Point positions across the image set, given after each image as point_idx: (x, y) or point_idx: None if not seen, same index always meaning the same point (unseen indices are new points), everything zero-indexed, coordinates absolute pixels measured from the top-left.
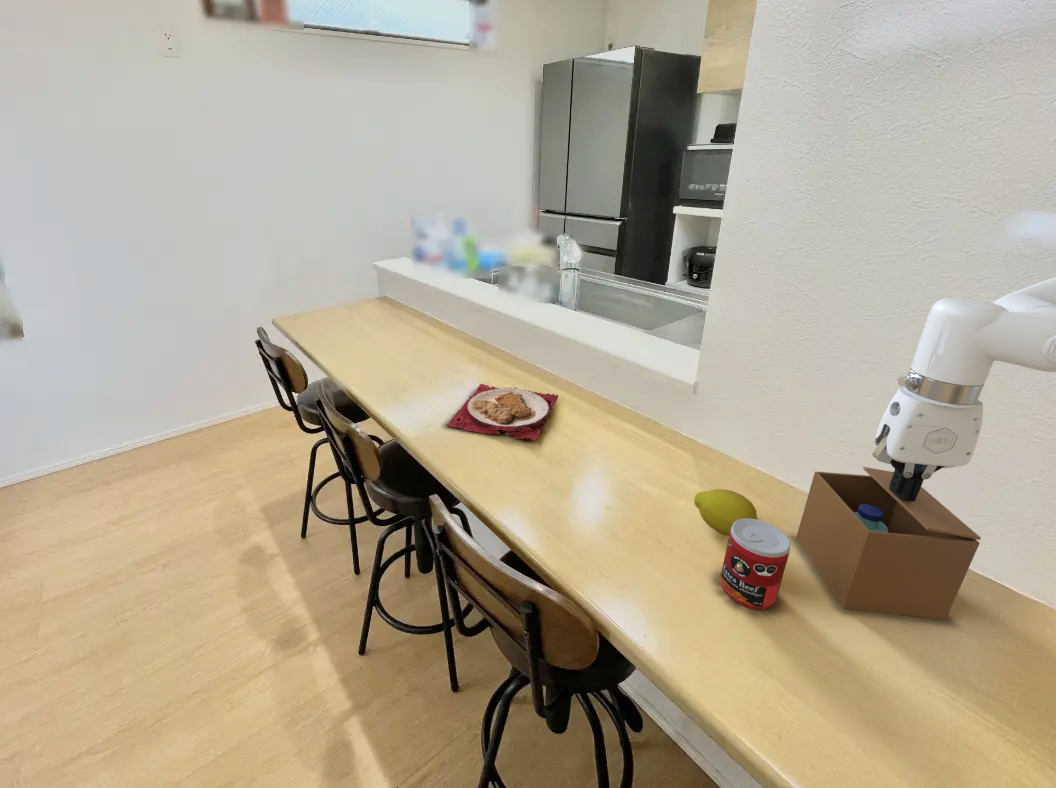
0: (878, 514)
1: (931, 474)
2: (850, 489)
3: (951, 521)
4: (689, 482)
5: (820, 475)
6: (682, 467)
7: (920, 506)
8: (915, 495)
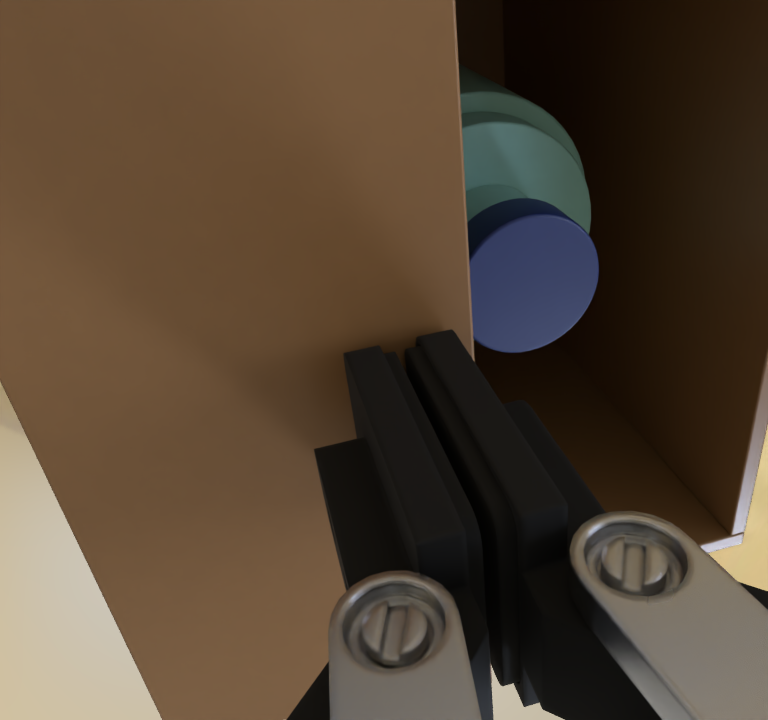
0: (504, 249)
1: (337, 672)
2: None
3: (57, 158)
4: (764, 477)
5: (737, 513)
6: (749, 547)
7: (291, 316)
8: (375, 388)
